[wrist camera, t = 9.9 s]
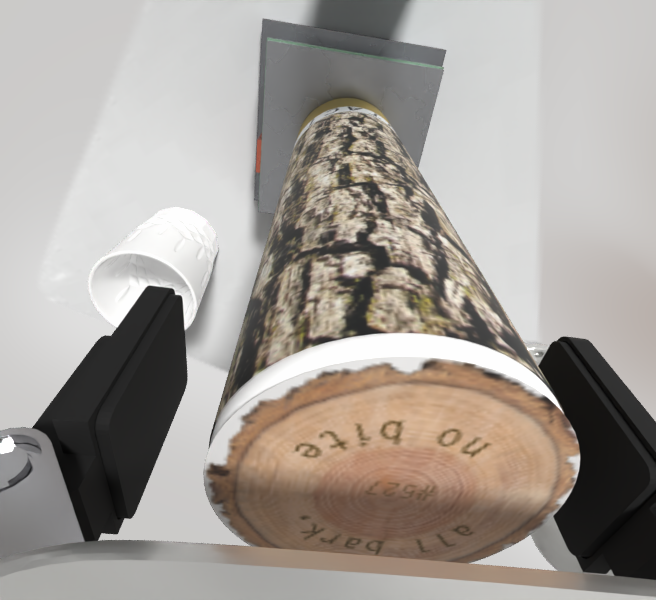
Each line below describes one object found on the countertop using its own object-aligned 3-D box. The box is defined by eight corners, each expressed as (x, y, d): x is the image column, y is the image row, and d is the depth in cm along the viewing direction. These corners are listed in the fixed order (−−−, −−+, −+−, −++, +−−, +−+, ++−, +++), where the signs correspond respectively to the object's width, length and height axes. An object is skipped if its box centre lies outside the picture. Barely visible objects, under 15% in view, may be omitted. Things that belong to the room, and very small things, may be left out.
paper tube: (380, 205, 31) (487, 588, 10) (289, 188, 30) (198, 561, 9) (407, 107, 27) (669, 391, 6) (304, 85, 26) (208, 319, 5)
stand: (400, 215, 37) (410, 244, 32) (256, 195, 36) (244, 222, 31) (442, 49, 30) (464, 54, 25) (265, 18, 29) (251, 17, 24)
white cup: (151, 185, 36) (96, 233, 28) (236, 222, 38) (209, 278, 30) (132, 257, 40) (80, 317, 32) (210, 287, 42) (180, 353, 34)
